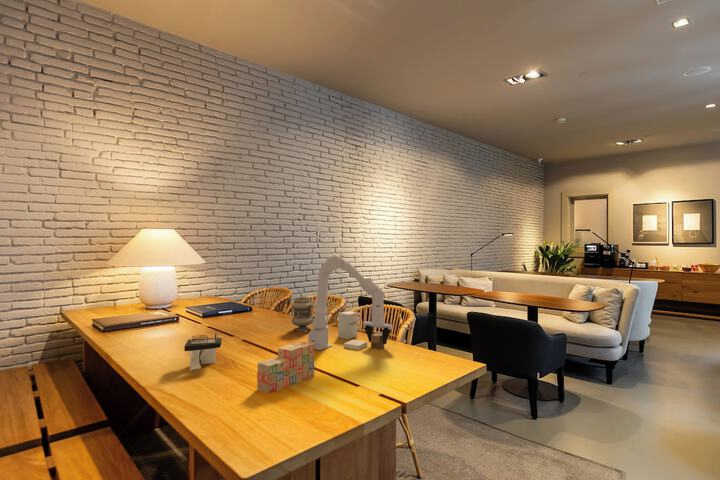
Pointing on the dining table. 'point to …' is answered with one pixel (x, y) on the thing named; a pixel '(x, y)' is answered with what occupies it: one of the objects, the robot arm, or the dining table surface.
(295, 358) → the stack of blocks
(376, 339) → the walnut block
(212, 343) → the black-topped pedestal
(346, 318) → the supplement box
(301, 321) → the stone urn vase
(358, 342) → the base slab
